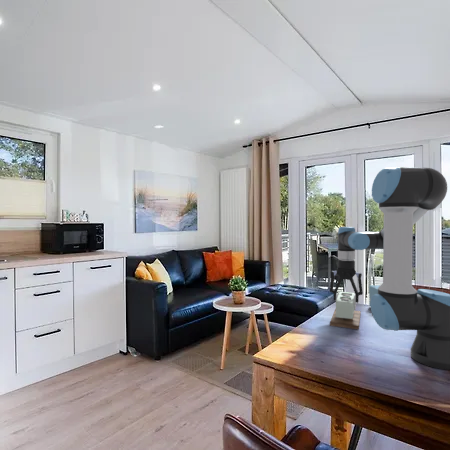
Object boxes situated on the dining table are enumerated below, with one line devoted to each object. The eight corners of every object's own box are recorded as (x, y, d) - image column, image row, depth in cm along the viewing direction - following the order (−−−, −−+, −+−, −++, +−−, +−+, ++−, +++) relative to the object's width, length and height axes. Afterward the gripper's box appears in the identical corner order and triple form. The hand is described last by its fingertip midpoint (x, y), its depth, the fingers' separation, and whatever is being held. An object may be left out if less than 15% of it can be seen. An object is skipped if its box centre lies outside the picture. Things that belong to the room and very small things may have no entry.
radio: (401, 315, 159) (401, 275, 159) (382, 315, 159) (383, 275, 159) (385, 307, 175) (385, 270, 175) (368, 307, 175) (369, 270, 175)
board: (358, 329, 139) (359, 304, 139) (329, 325, 144) (329, 301, 144) (360, 314, 162) (360, 292, 162) (335, 311, 167) (335, 290, 167)
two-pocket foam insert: (352, 319, 141) (352, 303, 140) (335, 317, 144) (335, 301, 143) (354, 306, 160) (354, 292, 160) (340, 305, 163) (340, 291, 162)
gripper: (369, 259, 150) (369, 308, 151) (325, 257, 159) (324, 303, 159) (369, 261, 143) (369, 312, 144) (323, 259, 152) (322, 307, 152)
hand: (345, 308), depth 152 cm, fingers closed on two-pocket foam insert, 7 cm apart
